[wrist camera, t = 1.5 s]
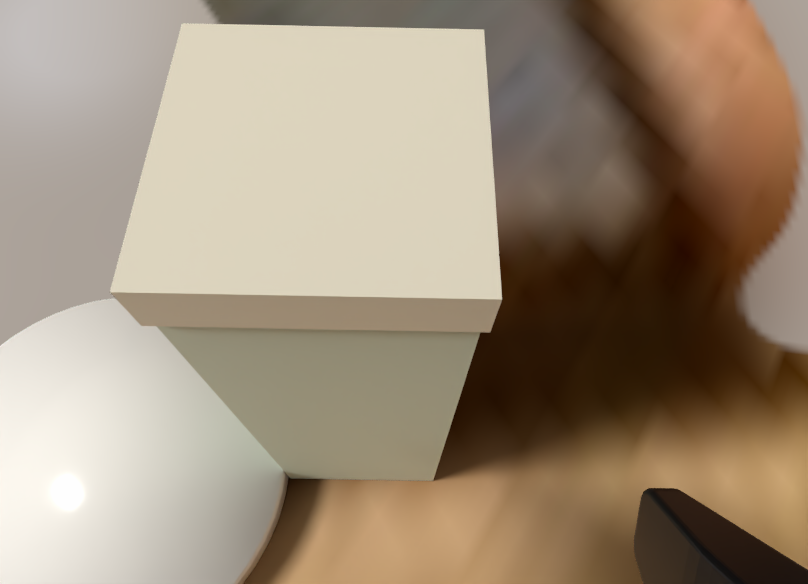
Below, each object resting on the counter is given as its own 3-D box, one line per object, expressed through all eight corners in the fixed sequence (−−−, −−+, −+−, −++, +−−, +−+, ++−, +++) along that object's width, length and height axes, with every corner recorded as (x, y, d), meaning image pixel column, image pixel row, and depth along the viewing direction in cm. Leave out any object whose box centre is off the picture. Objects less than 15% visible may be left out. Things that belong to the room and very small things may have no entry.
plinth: (202, 731, 16) (189, 741, 15) (-152, 604, 17) (-188, 604, 16) (336, 357, 21) (333, 344, 20) (53, 279, 22) (35, 263, 21)
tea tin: (436, 484, 19) (501, 299, 7) (287, 481, 19) (110, 292, 7) (434, 345, 21) (483, 29, 9) (301, 343, 21) (182, 23, 9)
